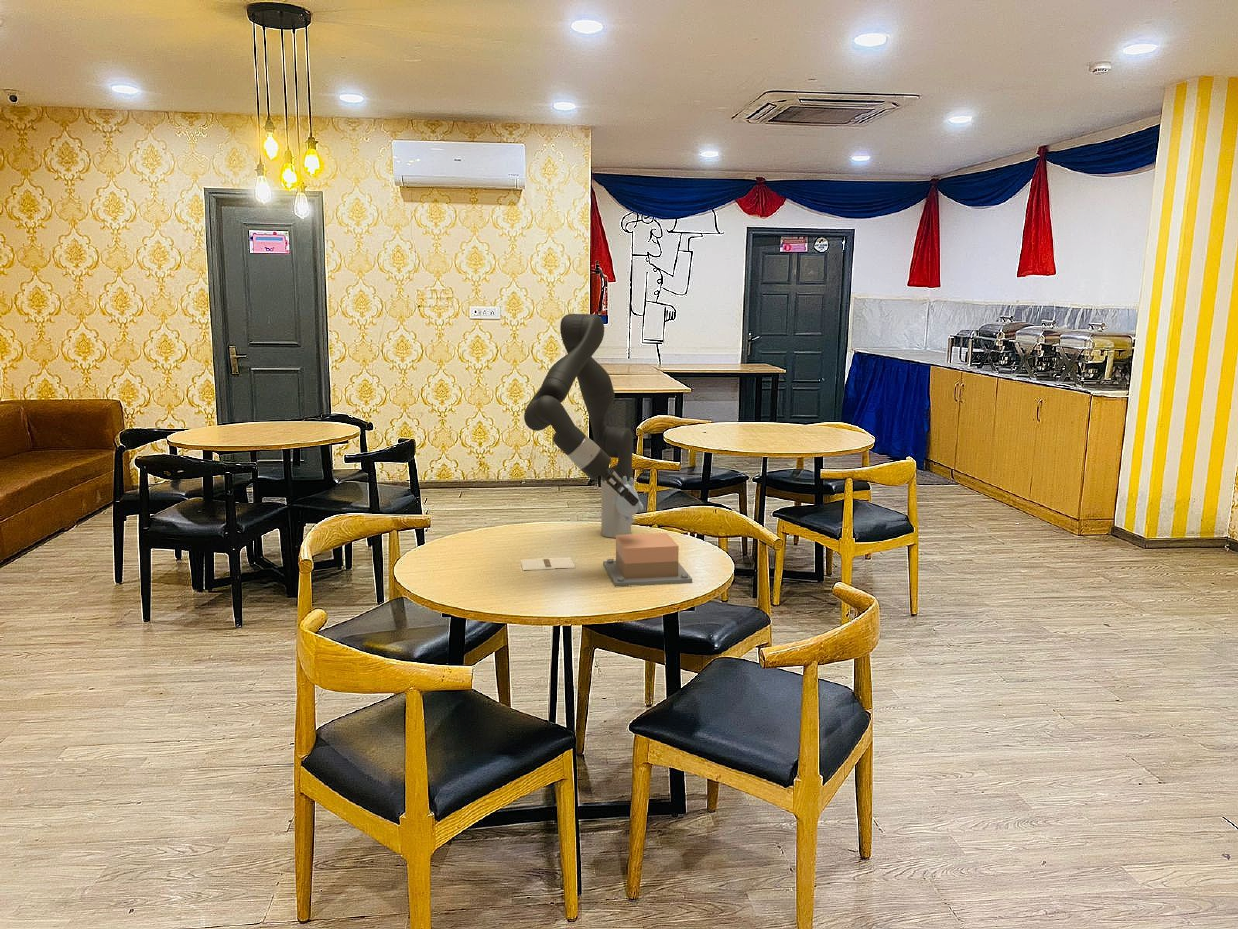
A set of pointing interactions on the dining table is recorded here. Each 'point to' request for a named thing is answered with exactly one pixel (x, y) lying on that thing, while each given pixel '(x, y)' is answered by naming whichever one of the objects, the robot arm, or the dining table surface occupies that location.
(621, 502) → the toy figure
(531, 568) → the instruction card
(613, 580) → the orange square pedestal
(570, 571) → the dining table surface
